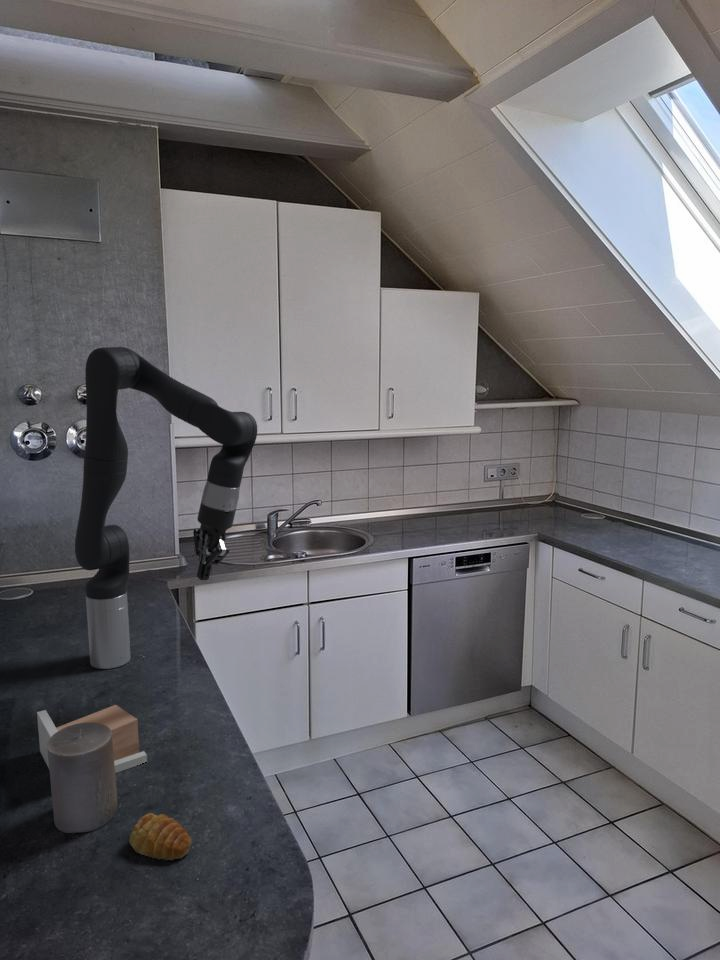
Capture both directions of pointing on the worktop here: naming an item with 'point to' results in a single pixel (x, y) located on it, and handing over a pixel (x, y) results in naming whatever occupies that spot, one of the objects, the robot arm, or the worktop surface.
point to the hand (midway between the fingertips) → (202, 578)
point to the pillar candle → (82, 777)
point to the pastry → (160, 837)
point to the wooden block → (116, 729)
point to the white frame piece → (49, 729)
